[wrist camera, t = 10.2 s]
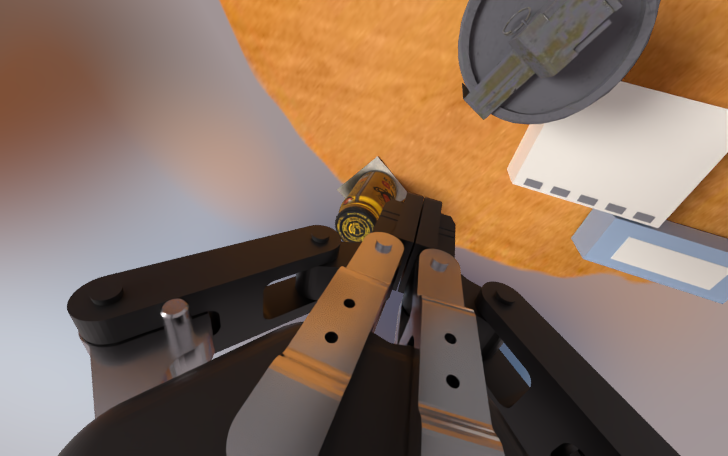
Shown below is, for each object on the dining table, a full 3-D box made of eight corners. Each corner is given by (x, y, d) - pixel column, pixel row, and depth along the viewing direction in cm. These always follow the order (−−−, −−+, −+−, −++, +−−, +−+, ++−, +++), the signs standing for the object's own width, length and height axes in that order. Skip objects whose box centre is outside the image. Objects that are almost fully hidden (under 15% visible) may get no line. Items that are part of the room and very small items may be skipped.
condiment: (410, 194, 45) (395, 237, 35) (368, 223, 49) (344, 268, 39) (377, 155, 43) (353, 189, 33) (337, 188, 47) (304, 227, 37)
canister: (520, -53, 29) (602, -182, 12) (590, 30, 31) (745, 12, 14) (436, 50, 35) (414, 55, 18) (498, 114, 36) (530, 173, 20)
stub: (599, 199, 38) (616, 218, 34) (737, 241, 36) (772, 266, 32) (571, 238, 41) (583, 259, 37) (696, 278, 40) (723, 304, 36)
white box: (559, 66, 33) (574, 69, 28) (719, 107, 31) (760, 117, 27) (506, 169, 39) (512, 184, 35) (636, 208, 38) (658, 228, 33)
